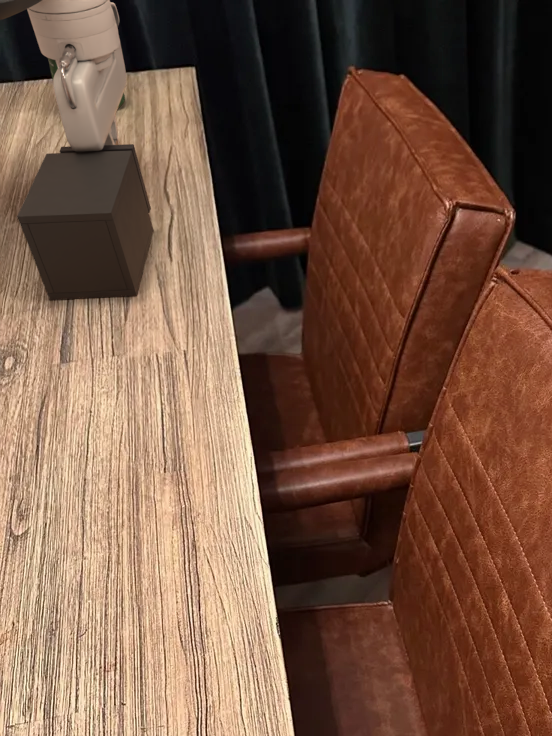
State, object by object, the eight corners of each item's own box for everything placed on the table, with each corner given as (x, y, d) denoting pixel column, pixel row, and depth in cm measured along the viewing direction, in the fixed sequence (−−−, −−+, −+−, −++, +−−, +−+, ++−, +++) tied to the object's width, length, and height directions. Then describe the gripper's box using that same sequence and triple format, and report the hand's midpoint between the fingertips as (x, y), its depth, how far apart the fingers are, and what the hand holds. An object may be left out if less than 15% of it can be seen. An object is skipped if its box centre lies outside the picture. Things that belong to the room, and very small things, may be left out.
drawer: (88, 196, 111) (67, 132, 105) (155, 193, 111) (138, 129, 105) (61, 268, 100) (36, 201, 94) (135, 265, 100) (115, 198, 94)
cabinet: (74, 234, 106) (46, 153, 99) (153, 231, 107) (131, 150, 99) (49, 300, 97) (16, 216, 90) (136, 296, 98) (111, 212, 90)
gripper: (88, 64, 92) (126, 195, 102) (118, 0, 104) (149, 122, 115) (27, 66, 91) (71, 197, 102) (64, 1, 104) (100, 123, 115)
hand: (112, 156), depth 109 cm, fingers closed
